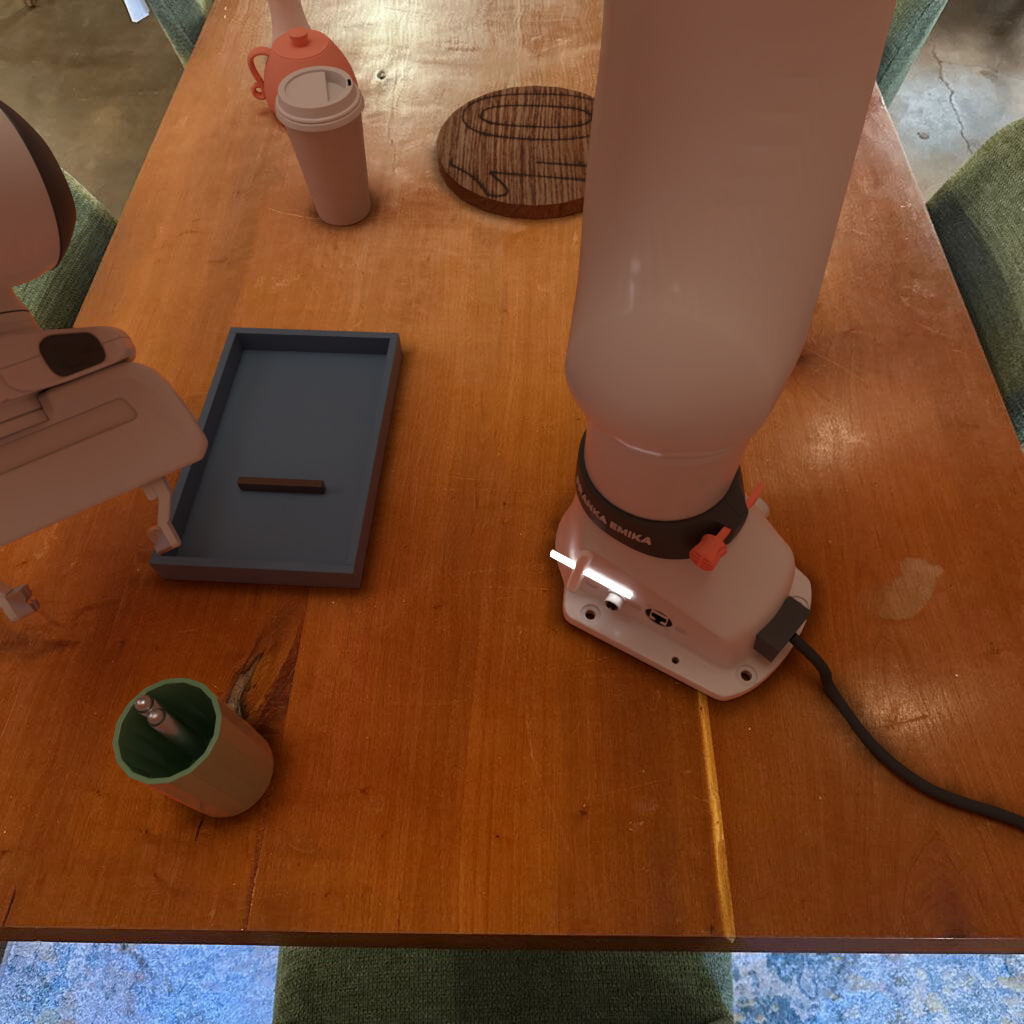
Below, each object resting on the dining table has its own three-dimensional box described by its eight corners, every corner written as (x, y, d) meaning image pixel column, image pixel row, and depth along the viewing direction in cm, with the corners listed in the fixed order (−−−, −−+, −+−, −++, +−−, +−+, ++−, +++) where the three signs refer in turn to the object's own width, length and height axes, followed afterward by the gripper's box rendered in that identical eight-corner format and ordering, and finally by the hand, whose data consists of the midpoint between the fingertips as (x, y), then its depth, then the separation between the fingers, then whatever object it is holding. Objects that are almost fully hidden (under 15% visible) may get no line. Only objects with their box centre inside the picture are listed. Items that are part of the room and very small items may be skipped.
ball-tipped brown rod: (248, 779, 58) (164, 712, 48) (235, 792, 57) (148, 726, 48) (239, 769, 58) (155, 701, 49) (227, 782, 58) (139, 715, 49)
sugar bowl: (360, 133, 101) (345, 54, 92) (254, 140, 101) (228, 61, 92) (362, 82, 107) (348, 3, 99) (262, 87, 107) (239, 9, 98)
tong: (229, 758, 59) (153, 699, 49) (216, 770, 58) (137, 713, 48) (219, 748, 59) (143, 688, 49) (207, 760, 59) (127, 702, 49)
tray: (359, 589, 67) (353, 573, 64) (162, 579, 67) (148, 563, 65) (402, 353, 81) (398, 332, 78) (239, 347, 82) (230, 326, 79)
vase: (261, 54, 111) (239, -22, 103) (304, 35, 114) (286, -41, 105) (290, 75, 108) (270, -2, 100) (333, 55, 111) (317, -22, 103)
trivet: (638, 219, 91) (640, 205, 90) (430, 219, 92) (428, 205, 90) (626, 98, 104) (628, 85, 103) (444, 99, 105) (442, 85, 103)
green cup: (291, 767, 59) (242, 723, 48) (222, 837, 56) (154, 807, 46) (237, 710, 61) (179, 657, 51) (168, 775, 59) (92, 734, 48)
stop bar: (324, 494, 71) (321, 487, 70) (240, 490, 71) (236, 483, 70) (326, 487, 71) (323, 480, 70) (242, 483, 72) (238, 476, 71)
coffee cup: (370, 239, 90) (344, 117, 77) (293, 229, 91) (255, 107, 78) (392, 188, 95) (372, 65, 82) (320, 179, 96) (288, 57, 83)
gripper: (-239, 462, 41) (-86, 676, 45) (139, 318, 46) (247, 521, 50) (-180, 452, 46) (-50, 642, 50) (149, 325, 52) (245, 507, 55)
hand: (100, 581), depth 50 cm, fingers open, 8 cm apart
